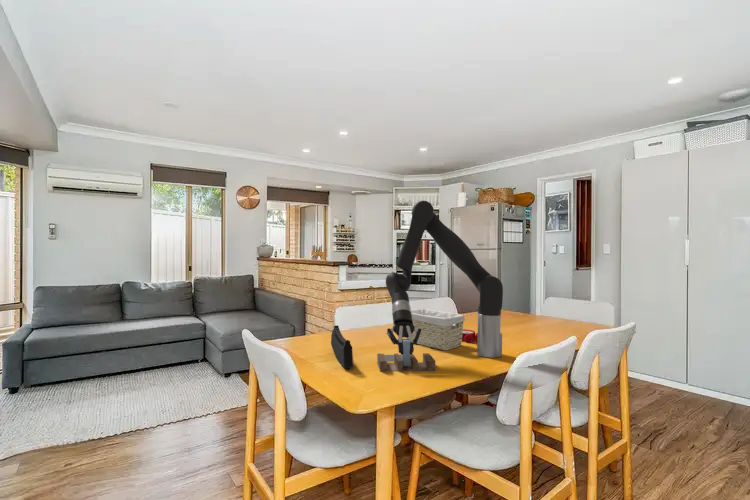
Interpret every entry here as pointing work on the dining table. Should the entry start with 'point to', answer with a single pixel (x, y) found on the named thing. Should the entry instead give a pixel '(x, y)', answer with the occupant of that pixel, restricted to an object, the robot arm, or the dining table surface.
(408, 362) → the tile
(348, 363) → the magazine
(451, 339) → the storage basket
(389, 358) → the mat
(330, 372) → the dining table surface
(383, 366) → the rack
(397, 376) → the dining table surface
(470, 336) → the alarm clock
